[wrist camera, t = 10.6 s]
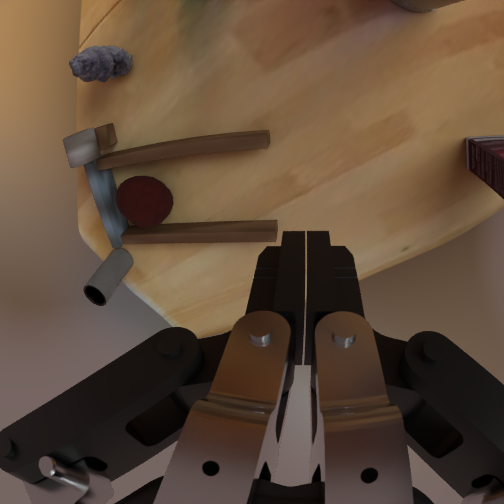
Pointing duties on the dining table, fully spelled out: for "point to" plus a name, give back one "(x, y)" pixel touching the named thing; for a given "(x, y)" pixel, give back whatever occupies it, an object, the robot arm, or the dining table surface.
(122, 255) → the grey tube
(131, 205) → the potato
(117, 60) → the grey lumpy rock
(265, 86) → the dining table surface
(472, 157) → the supplement box
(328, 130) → the dining table surface
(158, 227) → the bay
